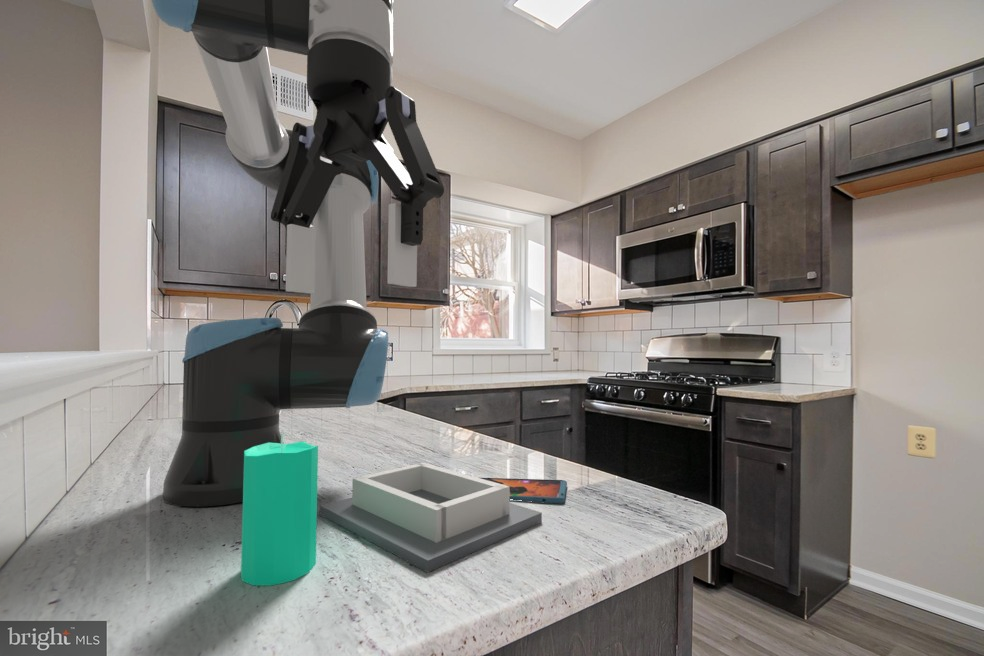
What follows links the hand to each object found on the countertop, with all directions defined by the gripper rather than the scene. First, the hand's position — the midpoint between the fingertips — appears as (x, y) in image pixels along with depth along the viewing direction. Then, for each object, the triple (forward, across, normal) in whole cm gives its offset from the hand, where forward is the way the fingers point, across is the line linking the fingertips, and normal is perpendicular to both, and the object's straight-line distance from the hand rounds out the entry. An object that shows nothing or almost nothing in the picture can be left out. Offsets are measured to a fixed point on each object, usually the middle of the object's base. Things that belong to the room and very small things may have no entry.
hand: (346, 289), depth 42 cm
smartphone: (+26, +3, +26) cm, 37 cm away
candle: (+25, -4, -4) cm, 25 cm away
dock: (+25, 0, +12) cm, 28 cm away
